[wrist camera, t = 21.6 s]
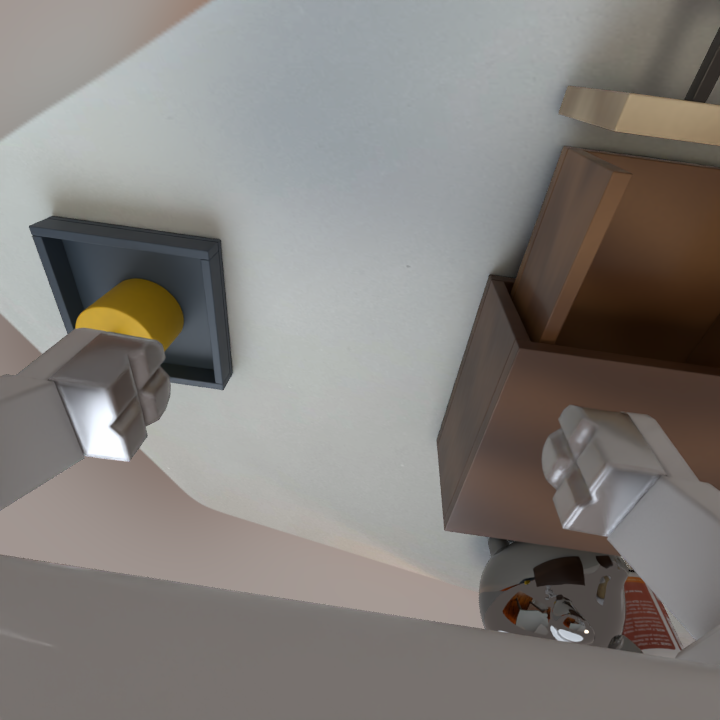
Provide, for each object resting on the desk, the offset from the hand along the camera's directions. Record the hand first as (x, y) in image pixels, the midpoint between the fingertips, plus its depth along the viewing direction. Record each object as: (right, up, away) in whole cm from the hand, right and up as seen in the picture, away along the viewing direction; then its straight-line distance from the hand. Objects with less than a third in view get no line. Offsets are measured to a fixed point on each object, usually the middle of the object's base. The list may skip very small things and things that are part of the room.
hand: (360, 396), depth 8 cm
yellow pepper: (-15, +4, +22) cm, 27 cm away
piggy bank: (+18, -18, +35) cm, 43 cm away
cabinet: (+15, -1, +23) cm, 27 cm away
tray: (-15, +5, +22) cm, 27 cm away
